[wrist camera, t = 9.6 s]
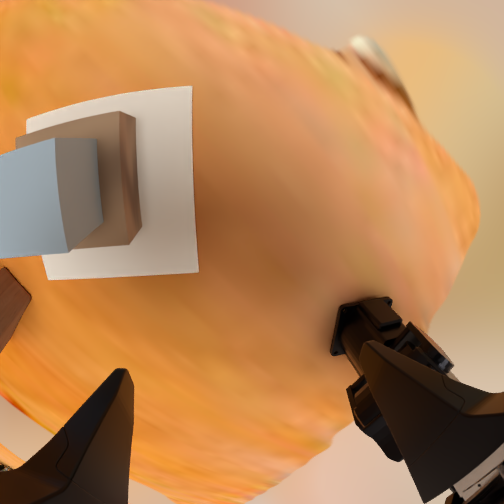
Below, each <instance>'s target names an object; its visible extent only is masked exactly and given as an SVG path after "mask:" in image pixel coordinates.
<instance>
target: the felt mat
mask: <svg viewBox="0 0 504 504" xmlns="http://www.w3.org/2000/svg"><path fill="white" fill-rule="evenodd" d="M115 111H121V112H124V113H126V114H128V115H131V116H133V117H135V118H136V154H137V174H138V188H139V200H140V210H141V220H142V227H141V229H140V230H139V232H138V233H137V234H136V236H135V237H134V239H133V240H132V242H131V243H130V244H129V245H122V246H109V247H97V248H84V249H72V250H71V251H70V252H69V253H62V254H49V255H42V259H43V263H44V266H45V270H46V274H47V277H48V280H64V279H88V278H110V277H129V276H148V275H166V274H182V273H198V272H199V265H198V252H197V239H196V224H195V206H194V185H193V153H192V86H181V87H169V88H160V89H151V90H143V91H136V92H130V93H124V94H118V95H113V96H108V97H103V98H98V99H94V100H89V101H85V102H81V103H77V104H73V105H70V106H66V107H63V108H59V109H56V110H53V111H50V112H46V113H43V114H40V115H38V116H35V117H32V118H29V119H27V129H26V134H29V133H32V132H35V131H38V130H41V129H44V128H47V127H51V126H54V125H58V124H61V123H65V122H69V121H73V120H77V119H81V118H85V117H90V116H94V115H99V114H104V113H109V112H115Z"/></svg>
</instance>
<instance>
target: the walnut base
mask: <svg viewBox="0 0 504 504" xmlns="http://www.w3.org/2000/svg"><path fill="white" fill-rule="evenodd" d="M52 138H93V139H97V160H98V175H99V187H100V197H101V206H102V214H103V221H104V222H103V223H102V224H101V225H99V226H98V227H97V228H96V229H95V230H94V231H92V232H91V233H90V234H89V235H88V236H87V237H86V238H84V239H83V240H82V241H81V242H80V243H79V244H78V245H77V246H76V247H74V248H73V249H84V248H97V247H109V246H122V245H129V244H130V243H131V242H132V240H133V239H134V237H135V236H136V234H137V233H138V232H139V230H140V229H141V227H142V220H141V210H140V200H139V188H138V174H137V154H136V118H135V117H133V116H131V115H128V114H126V113H124V112H121V111H115V112H109V113H104V114H99V115H94V116H90V117H85V118H81V119H77V120H73V121H69V122H65V123H61V124H58V125H54V126H51V127H47V128H44V129H41V130H38V131H35V132H32V133H29V134H26V135H23V136H20V137H17V138H16V149H19V148H22V147H25V146H28V145H31V144H35V143H38V142H41V141H45V140H48V139H52Z"/></svg>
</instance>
